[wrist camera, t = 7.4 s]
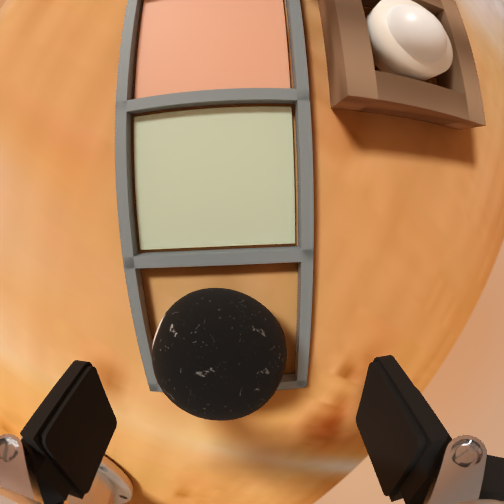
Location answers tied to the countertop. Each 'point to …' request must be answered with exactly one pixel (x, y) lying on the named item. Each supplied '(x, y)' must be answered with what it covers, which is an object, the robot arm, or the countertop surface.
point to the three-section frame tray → (214, 147)
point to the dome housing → (395, 86)
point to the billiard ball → (219, 354)
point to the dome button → (408, 40)
